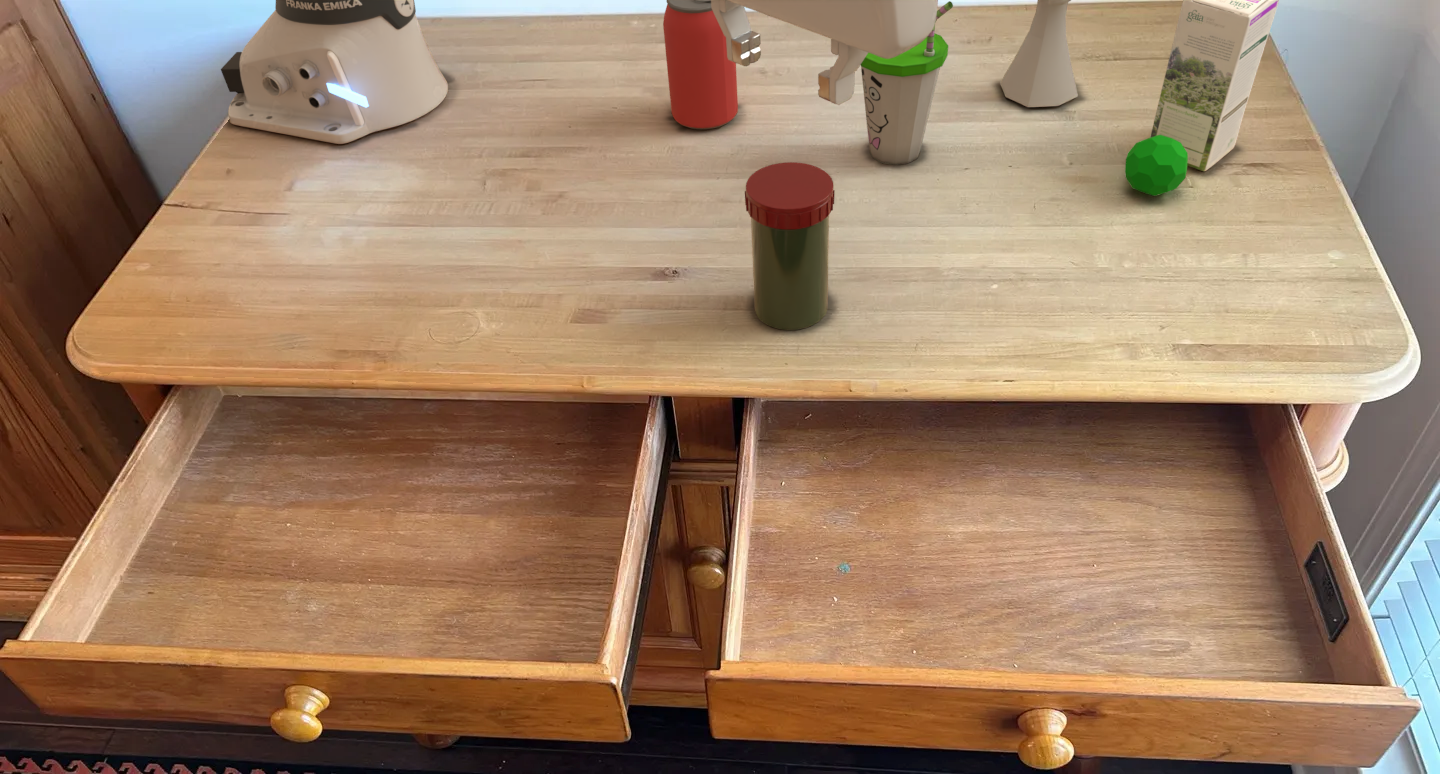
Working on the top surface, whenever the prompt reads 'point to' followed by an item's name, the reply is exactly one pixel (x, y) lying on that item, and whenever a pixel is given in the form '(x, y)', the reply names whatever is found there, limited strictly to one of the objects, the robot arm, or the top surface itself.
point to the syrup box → (1212, 75)
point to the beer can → (698, 66)
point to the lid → (789, 195)
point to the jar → (790, 274)
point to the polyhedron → (1156, 165)
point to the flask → (1043, 61)
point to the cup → (902, 97)
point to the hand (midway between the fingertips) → (788, 79)
